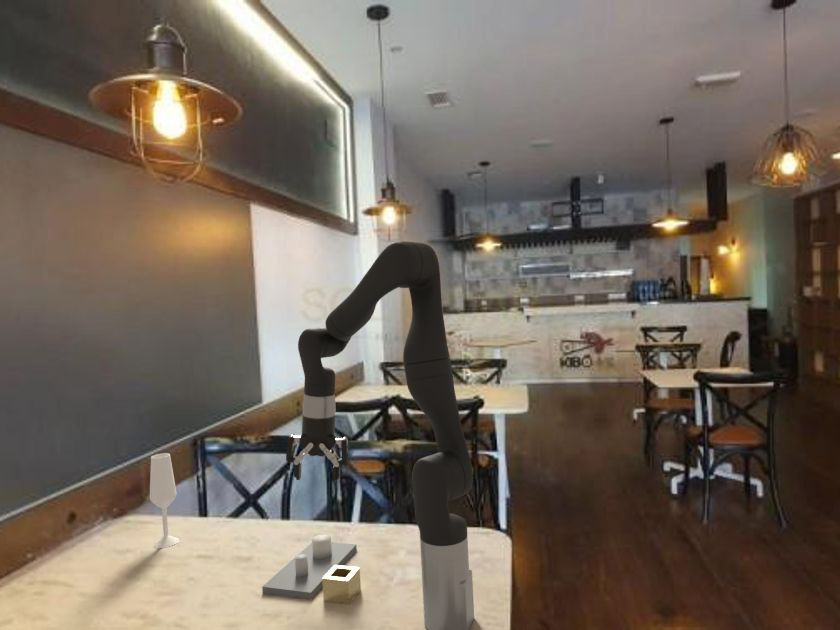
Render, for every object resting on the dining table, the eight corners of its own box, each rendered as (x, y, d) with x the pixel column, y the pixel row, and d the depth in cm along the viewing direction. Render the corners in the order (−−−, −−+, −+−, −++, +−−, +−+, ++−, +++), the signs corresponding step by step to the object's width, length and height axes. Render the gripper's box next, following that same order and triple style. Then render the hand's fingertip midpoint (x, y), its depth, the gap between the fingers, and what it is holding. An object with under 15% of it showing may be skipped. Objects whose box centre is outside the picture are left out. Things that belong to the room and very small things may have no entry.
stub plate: (356, 550, 146) (355, 528, 146) (311, 599, 123) (309, 574, 123) (314, 546, 150) (313, 525, 150) (262, 593, 127) (261, 568, 127)
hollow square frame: (360, 589, 126) (359, 567, 126) (349, 604, 121) (348, 581, 120) (336, 586, 128) (334, 564, 128) (323, 601, 122) (322, 578, 122)
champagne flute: (184, 537, 160) (178, 452, 159) (170, 548, 153) (164, 459, 152) (162, 537, 161) (156, 452, 160) (147, 547, 154) (141, 459, 153)
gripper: (284, 415, 130) (282, 484, 131) (347, 418, 130) (344, 487, 131) (292, 406, 137) (290, 472, 139) (351, 410, 137) (349, 475, 139)
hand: (316, 479), depth 135 cm, fingers open, 8 cm apart
